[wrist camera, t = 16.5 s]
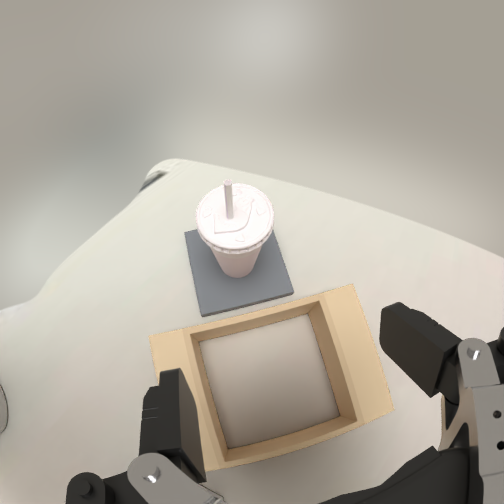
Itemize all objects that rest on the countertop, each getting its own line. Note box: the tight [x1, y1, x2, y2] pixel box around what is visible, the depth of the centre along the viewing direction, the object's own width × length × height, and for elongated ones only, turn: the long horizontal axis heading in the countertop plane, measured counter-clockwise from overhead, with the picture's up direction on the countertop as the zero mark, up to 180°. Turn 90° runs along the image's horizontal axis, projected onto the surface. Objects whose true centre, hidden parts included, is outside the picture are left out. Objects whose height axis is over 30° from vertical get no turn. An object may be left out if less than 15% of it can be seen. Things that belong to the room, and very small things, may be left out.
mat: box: [185, 229, 294, 317], centre depth 32 cm, size 10×10×1 cm
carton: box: [149, 284, 394, 471], centre depth 25 cm, size 20×13×5 cm
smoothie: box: [196, 179, 274, 278], centre depth 25 cm, size 6×6×14 cm
